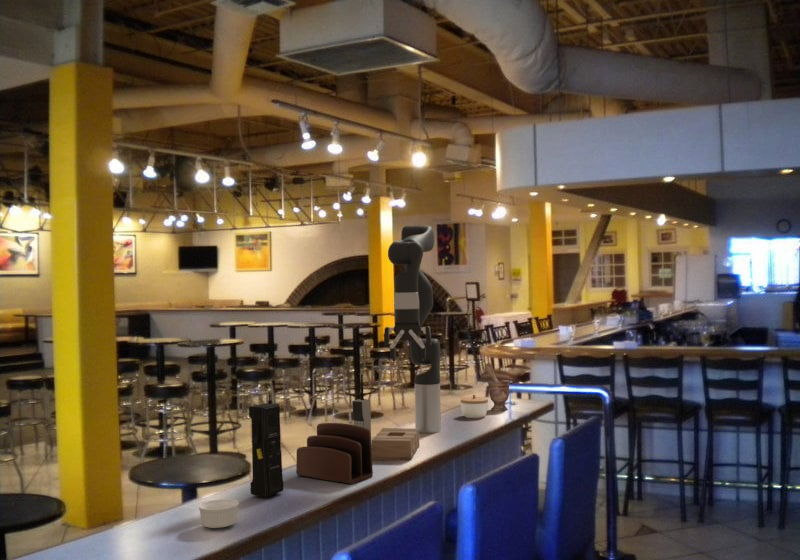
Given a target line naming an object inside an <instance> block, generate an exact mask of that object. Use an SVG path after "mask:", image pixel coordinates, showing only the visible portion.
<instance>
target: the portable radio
mask: <svg viewBox="0 0 800 560" xmlns="http://www.w3.org/2000/svg"><path fill="white" fill-rule="evenodd" d="M271 395H272V394H271V393H268V395H267V396H268V400H267V402H268V403H267V402H266V403H260V404H257V405H252V406H249V407H248V418H250V419H251V455H252V456H251V457H252V459H251V460H252V461H251V462H252V465H251V466H252V481H251V482H250V484H249V485H250V494H251V495H253V496H258V497H265V498H268V497H271V496H273V495H276V494H280V493H282V492H283V491H284V479H283V477H284V476H283V475H284V474H283V460H282V448H281V447H282V445H281V444H282V443H281V418H280V417H281V413H280V412H281V409H280V407H281V406H280V403H273V402H272V400H271Z"/></svg>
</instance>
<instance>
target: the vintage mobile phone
mask: <svg viewBox="0 0 800 560" xmlns="http://www.w3.org/2000/svg"><path fill="white" fill-rule="evenodd" d="M363 378H364V374H363V373H361V374H360V398H358V399H355V400H351V403H352V405H351V407H352V417H353V420H354V421H353V425H355V426H359V427H363V428H366V429H369V430H370V432H371V433H372V426H371V425H372V421H371V420H372V418H371V415H372V413H371V411H372V410H371V399H370V398H369V399H368V398H365V397H364V381H363V380H364V379H363Z"/></svg>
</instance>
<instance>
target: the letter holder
mask: <svg viewBox="0 0 800 560" xmlns="http://www.w3.org/2000/svg"><path fill="white" fill-rule="evenodd" d="M295 458H296V459H295V460H296V469H295V470H296V476H299V477H300V476H301V477H307V478H312V479H318V480H323V481H324V480H325V481H330V482H337V483H343V484H349V485H352V484H355V483H357V482H361V481H364V480H366V479H369V478H372V477H373V475H374V472H373V460H372V431H371V432H370V430H369V429H366V428H363V427H359V426H355V425H354V424H348V423H341V422H325V423H323V422H321V423H318V424H317V425H316V434H315V435H309V436H307V438H306V446H299V447H297V448H296V457H295Z"/></svg>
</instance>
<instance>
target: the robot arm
mask: <svg viewBox="0 0 800 560" xmlns="http://www.w3.org/2000/svg"><path fill="white" fill-rule="evenodd" d="M433 229H434V228H432V226H429V225H425V224H424V225H420V224H419V225H405V226H403V228H402V229H401V237H400V238H401V240H396V241H393V242H391V244H390V245H389V247H388V249H387V257H388V258H387V259H388V260H389V261H390V263H391V264H393V266H394V265H395V266H404V268H405V269H404V271H403V272H399V273H397V274H396V275H395V277H394V299H393V300H394V301H393V302H394V304H393V306H394V307H393V308H394V327H391V326H385V327H384V331H383V333H384V334H383V347H386V348H388V349H389V353H390V360H392V362H397V361H396V360H397V358H396V357H397V352H396V346H397V344H399V342H400V341H401V342H406V341H409V358H410V362H411V363H412V364H413V365H430V367H429V369H427V370H426V371H423V372H421V373H418V374H416V375H415V376H414V414H415V415H414V416H415V418H414V420H415V422H414V423H415V428H416V429H419V434H420V433H421V434H434V433H440V432H441V431H442V412H441V410H442V409H441V408H442V404H441V343H440V340H439V339H438V338H432V336H431V335H432V333H431V327H430V326H429V325H426V326H423V324H424V323H425V321H426V319H427V318H428V316H429V315H430V313H431V311H432V309H433V307H434V296H433V295H434V294H433V286H432V284H431V282H430V281H429V279H428V278H427V276H426V275H425V274H424V272H423V271H422V270H421V264H422V259H423V257H424V253H428V252H430V251H432V250H433V248H434V246H435V232H434V230H433ZM392 332H393V333H394V334H395V335H396V337H395V338H394V339H393V340H392V342H391V343H390V335H391V334H392ZM421 332H422V333H423V334H424V335H425V338H421V337H420V336H419V335H420V333H421Z"/></svg>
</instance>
